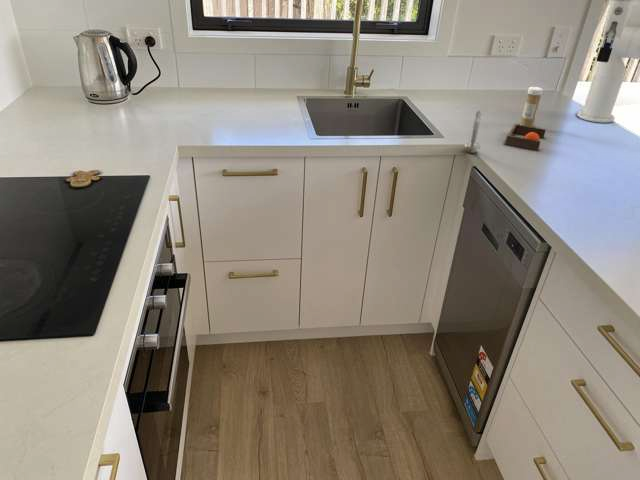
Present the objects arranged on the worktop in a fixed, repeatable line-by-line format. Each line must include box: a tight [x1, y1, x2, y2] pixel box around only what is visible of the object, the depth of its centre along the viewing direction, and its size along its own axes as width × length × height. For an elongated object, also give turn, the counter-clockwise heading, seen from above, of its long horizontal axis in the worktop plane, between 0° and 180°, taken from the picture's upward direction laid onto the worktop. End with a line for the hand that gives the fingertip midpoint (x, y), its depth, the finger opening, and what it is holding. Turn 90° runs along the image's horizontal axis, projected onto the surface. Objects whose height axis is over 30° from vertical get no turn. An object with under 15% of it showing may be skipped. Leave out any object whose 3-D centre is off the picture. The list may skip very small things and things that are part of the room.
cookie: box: [65, 169, 101, 189], centre depth 126 cm, size 8×1×10 cm
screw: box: [463, 110, 482, 154], centre depth 146 cm, size 13×5×5 cm
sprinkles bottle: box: [519, 86, 544, 127], centre depth 167 cm, size 5×5×14 cm
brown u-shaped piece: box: [504, 123, 547, 152], centre depth 158 cm, size 14×10×3 cm
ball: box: [523, 132, 540, 141], centre depth 153 cm, size 4×4×4 cm
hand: (602, 61), depth 147 cm, fingers closed
